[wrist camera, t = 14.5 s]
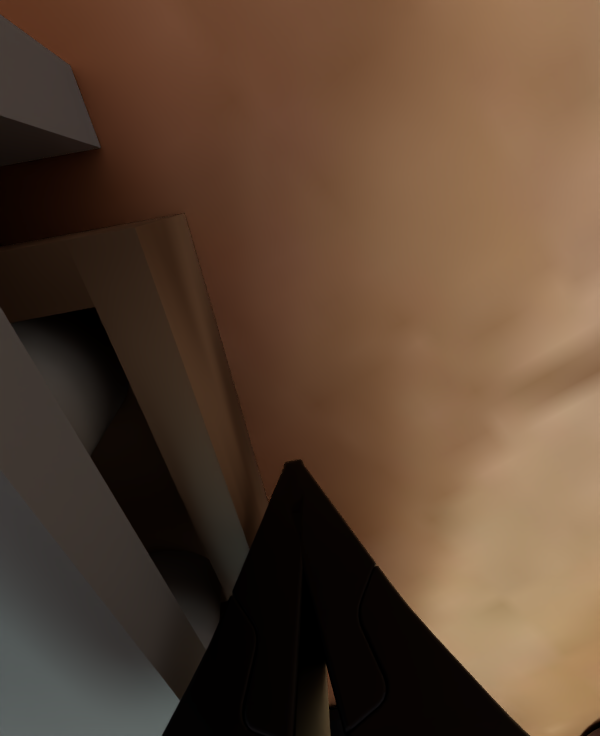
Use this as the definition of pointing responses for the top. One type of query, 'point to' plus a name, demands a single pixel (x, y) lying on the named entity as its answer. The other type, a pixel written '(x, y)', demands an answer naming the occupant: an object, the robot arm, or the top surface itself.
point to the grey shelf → (70, 506)
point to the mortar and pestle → (595, 733)
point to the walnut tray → (146, 394)
